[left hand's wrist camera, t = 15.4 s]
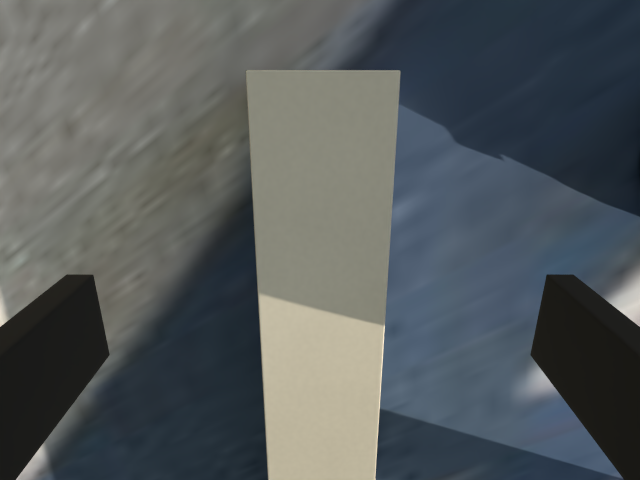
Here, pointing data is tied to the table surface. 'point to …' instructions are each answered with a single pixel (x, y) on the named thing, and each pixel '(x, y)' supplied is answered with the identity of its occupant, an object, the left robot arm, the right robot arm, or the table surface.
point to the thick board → (322, 262)
